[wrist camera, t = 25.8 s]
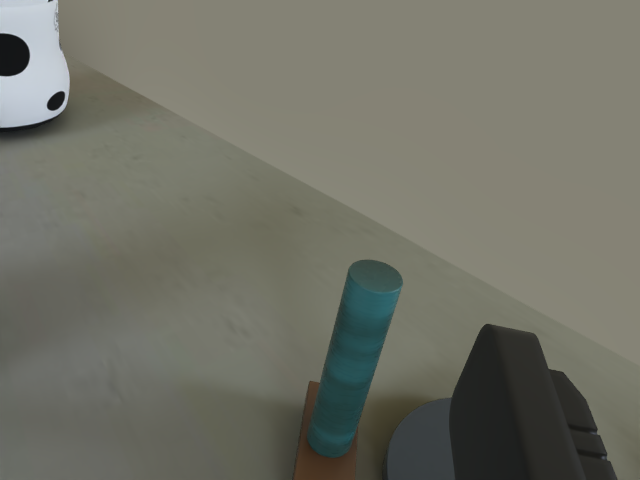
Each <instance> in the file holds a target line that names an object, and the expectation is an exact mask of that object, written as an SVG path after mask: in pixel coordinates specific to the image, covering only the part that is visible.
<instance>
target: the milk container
mask: <svg viewBox="0 0 640 480" xmlns="http://www.w3.org/2000/svg"><path fill="white" fill-rule="evenodd" d="M69 87H70V78H69V71H68V67H67V63H66V61H65V58H64V55H63V51H62V49H61V44H60V40H59V28H58V1H57V0H0V132H7V131H17V130H22V129H29V128H34V127H37V126H39V125H42V124H45V123H47V122H50V121H52V120H53V119H55V118H56V117H58V116H59V115H60V114H61V113H62V112H63V111H64V109H65V107H66V105H67V101H68V96H69Z"/></svg>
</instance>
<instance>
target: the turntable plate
mask: <svg viewBox="0 0 640 480" xmlns="http://www.w3.org/2000/svg"><path fill="white" fill-rule="evenodd" d="M451 400H452V398H445V399H439V400H435V401H432V402H429V403H426V404H424V405H422V406H420V407H418V408H416V409H415V410H413V411H412V412H411V413H409V414H408V415H407V416H406V417H405V418H404V419H403V420H402V421H401V422H400V424H399V425H398V426H397V428H396V429H395V431H394V433H393V435H392V438H391V440H390V442H389V445H388V448H387V450H386V454H385V458H384V462H383V471H382V480H455V473H454V465H453V457H452V448H451V440H450V432H449V412H450V405H451Z"/></svg>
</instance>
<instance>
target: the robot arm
mask: <svg viewBox="0 0 640 480" xmlns="http://www.w3.org/2000/svg"><path fill="white" fill-rule="evenodd" d="M597 430H598V429H597V427H596V424H595V422H594V419H593V417H592V414H591V411H590V409H589V406H588V404H587V401H586V399H585V398H584V397H583V396H582V394H581V393H580V392H579V391H578V390H577V388H576V387H575V386H574V385H573V384H572V382H571V381H570V380H569V379H568V378H567V376H566V375H565V374H564V373H563V372H560V371H556V370H551V369H548V366H547V363H546V360H545V357H544V354H543V352H542V349H541V346H540V343H539V340H538V338H537V336H536V335H535V334H534V333H530V332H525V331H520V330H515V329H510V328H506V327H501V326H496V325H491V324H486V325H484V326H483V327H482V329H481V330H480V332H479V334H478V336H477V339H476V341H475V343H474V346H473V348H472V350H471V353H470V355H469V357H468V360H467V362H466V364H465V366H464V369H463V371H462V373H461V376H460V378H459V380H458V383H457V385H456V387H455V390H454V393H453V396H452V400H451V405H450V412H449V432H450V440H451V448H452V457H453V465H454V473H455V480H617V477H616V475H615V472H614V470H613V467H612V465H611V462H610V461H607V452H606V450H605V447H604V444H603V442H602V439H601V437H600V435H597Z"/></svg>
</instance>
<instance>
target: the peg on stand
mask: <svg viewBox="0 0 640 480" xmlns="http://www.w3.org/2000/svg"><path fill="white" fill-rule="evenodd" d="M402 285H403V279H402V277H401V275H400V274H399V272H398V271H397V270H395V269H394V268H393V267H391V266H390V265H388V264H385V263H383V262H380V261H375V260H360V261H357V262H355V263H353V264H352V265H351V266H350V267H349V270H348V274H347V278H346V282H345V286H344V290H343V294H342V298H341V302H340V305H339V309H338V313H337V317H336V321H335V325H334V329H333V333H332V337H331V341H330V345H329V349H328V353H327V356H326V360H325V364H324V368H323V372H322V376H321V380H320V383H318V382H313V381H310V382H309V386H308V390H307V394H306V399H305V405H304V411H303V417H302V424H301V430H300V436H299V442H298V448H297V454H296V460H295V466H294V472H293V478H292V480H355V467H356V450H357V433H358V423H359V419H360V416H361V413H362V410H363V407H364V404H365V401H366V398H367V394H368V391H369V388H370V385H371V382H372V379H373V376H374V373H375V369H376V366H377V363H378V360H379V357H380V354H381V351H382V348H383V344H384V341H385V338H386V335H387V332H388V329H389V326H390V323H391V319H392V316H393V313H394V310H395V307H396V304H397V301H398V297H399V294H400V291H401V288H402Z"/></svg>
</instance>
